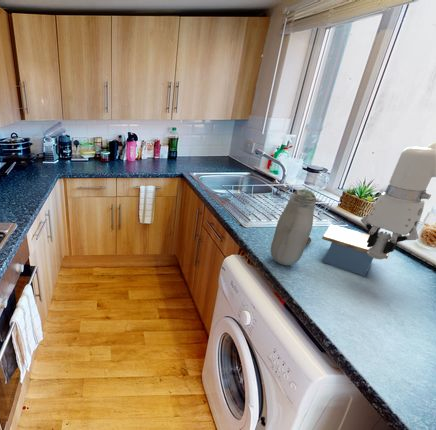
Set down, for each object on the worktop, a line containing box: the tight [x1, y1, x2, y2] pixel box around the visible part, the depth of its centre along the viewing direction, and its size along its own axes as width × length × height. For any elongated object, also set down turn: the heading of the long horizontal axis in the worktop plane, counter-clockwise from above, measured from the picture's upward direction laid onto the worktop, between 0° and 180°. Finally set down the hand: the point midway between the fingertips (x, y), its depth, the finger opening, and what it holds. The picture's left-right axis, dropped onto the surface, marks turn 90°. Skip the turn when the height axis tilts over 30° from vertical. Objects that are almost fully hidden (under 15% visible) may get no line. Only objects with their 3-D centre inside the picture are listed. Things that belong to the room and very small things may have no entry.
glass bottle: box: [270, 188, 317, 266], centre depth 100 cm, size 10×10×28 cm
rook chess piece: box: [367, 230, 392, 261], centre depth 87 cm, size 4×4×8 cm
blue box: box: [323, 242, 374, 277], centre depth 104 cm, size 12×12×9 cm
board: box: [321, 223, 391, 260], centre depth 102 cm, size 18×14×1 cm
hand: (378, 248), depth 87 cm, fingers closed on rook chess piece, 3 cm apart
